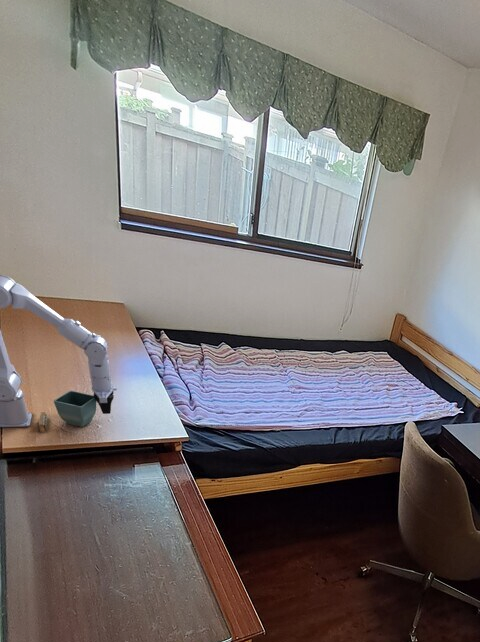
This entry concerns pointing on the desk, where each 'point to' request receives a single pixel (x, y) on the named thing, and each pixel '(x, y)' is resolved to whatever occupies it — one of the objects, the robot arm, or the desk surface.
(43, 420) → the stop rail
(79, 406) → the flower pot
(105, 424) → the desk surface
